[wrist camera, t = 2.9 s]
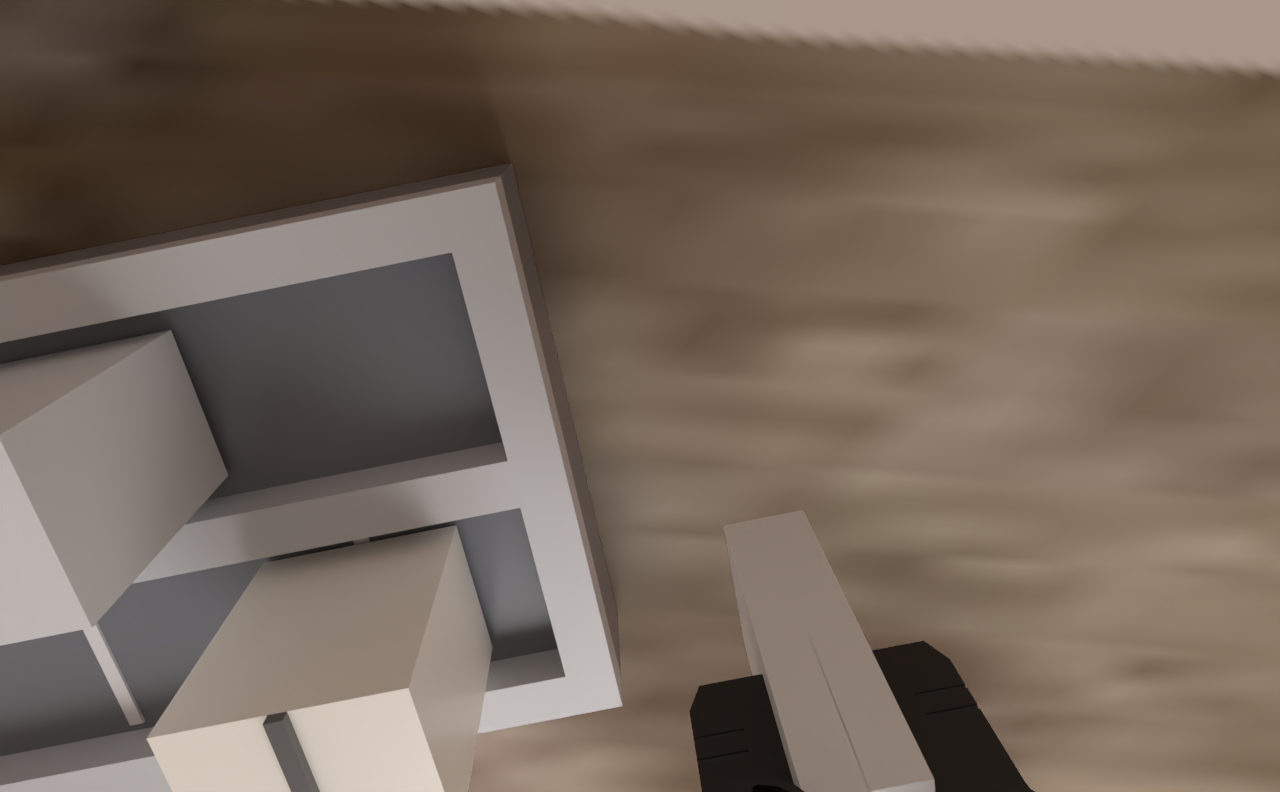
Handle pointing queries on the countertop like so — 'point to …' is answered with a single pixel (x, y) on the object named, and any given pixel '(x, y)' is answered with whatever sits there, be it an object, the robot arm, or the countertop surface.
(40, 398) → the fader
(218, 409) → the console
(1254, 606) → the countertop surface
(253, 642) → the fader
